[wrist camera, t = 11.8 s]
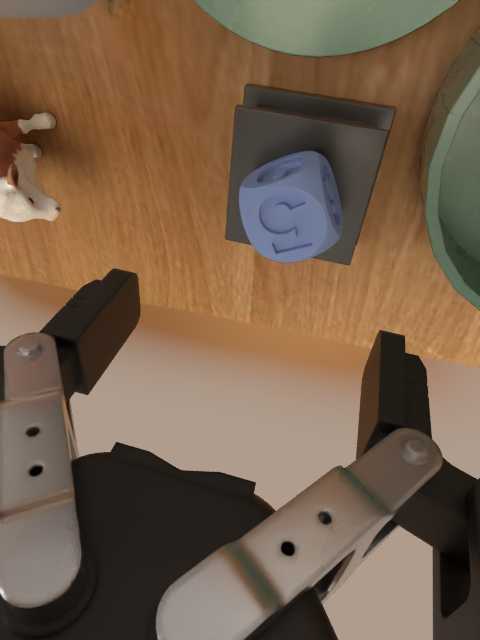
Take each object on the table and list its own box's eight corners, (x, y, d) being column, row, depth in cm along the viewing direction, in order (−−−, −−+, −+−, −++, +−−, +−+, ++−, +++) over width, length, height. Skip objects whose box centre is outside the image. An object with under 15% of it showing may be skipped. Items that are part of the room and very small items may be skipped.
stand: (396, 107, 23) (397, 126, 20) (356, 242, 28) (353, 271, 26) (246, 83, 24) (229, 98, 22) (234, 217, 29) (219, 243, 27)
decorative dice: (276, 234, 25) (261, 271, 22) (250, 167, 23) (230, 197, 20) (346, 216, 24) (339, 253, 21) (324, 142, 22) (314, 171, 19)
